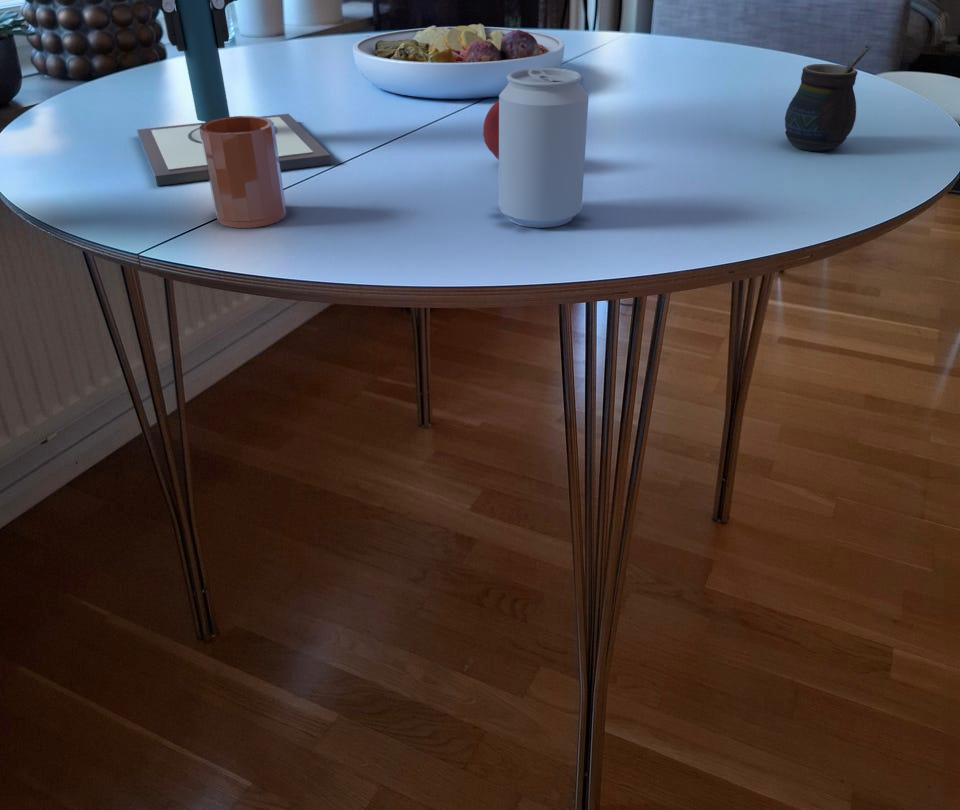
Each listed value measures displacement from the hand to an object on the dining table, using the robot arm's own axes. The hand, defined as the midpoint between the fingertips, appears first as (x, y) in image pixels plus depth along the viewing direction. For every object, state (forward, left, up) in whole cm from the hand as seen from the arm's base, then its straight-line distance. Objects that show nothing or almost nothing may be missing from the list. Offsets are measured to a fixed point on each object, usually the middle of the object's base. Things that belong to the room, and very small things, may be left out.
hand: (200, 47), depth 93 cm
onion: (+27, -23, -10) cm, 37 cm away
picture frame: (+1, -4, -10) cm, 11 cm away
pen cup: (-1, -27, -10) cm, 29 cm away
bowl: (+38, +19, -10) cm, 44 cm away
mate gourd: (+61, -30, -10) cm, 68 cm away
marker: (0, 0, -9) cm, 9 cm away
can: (+23, -38, -10) cm, 45 cm away
